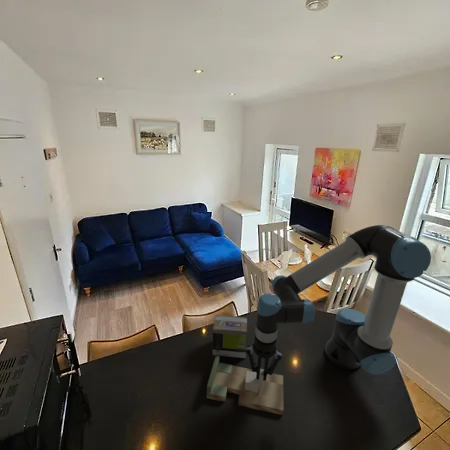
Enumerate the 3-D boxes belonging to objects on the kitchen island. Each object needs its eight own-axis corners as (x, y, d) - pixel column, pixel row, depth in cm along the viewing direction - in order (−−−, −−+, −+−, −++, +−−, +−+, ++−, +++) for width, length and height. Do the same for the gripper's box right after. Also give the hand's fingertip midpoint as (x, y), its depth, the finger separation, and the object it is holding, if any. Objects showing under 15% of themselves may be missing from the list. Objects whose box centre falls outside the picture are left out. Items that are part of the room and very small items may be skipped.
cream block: (258, 380, 100) (259, 373, 99) (257, 392, 95) (258, 384, 94) (246, 378, 101) (246, 370, 100) (244, 389, 96) (245, 382, 95)
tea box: (246, 341, 122) (247, 316, 117) (245, 359, 113) (247, 332, 108) (215, 338, 123) (215, 313, 118) (212, 355, 114) (212, 329, 109)
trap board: (282, 380, 103) (284, 369, 101) (282, 415, 90) (284, 403, 88) (215, 366, 108) (215, 355, 106) (206, 397, 95) (206, 386, 93)
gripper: (284, 331, 91) (277, 379, 99) (248, 325, 94) (244, 372, 102) (284, 347, 85) (277, 397, 92) (245, 340, 87) (242, 390, 95)
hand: (260, 384), depth 97 cm, fingers closed
